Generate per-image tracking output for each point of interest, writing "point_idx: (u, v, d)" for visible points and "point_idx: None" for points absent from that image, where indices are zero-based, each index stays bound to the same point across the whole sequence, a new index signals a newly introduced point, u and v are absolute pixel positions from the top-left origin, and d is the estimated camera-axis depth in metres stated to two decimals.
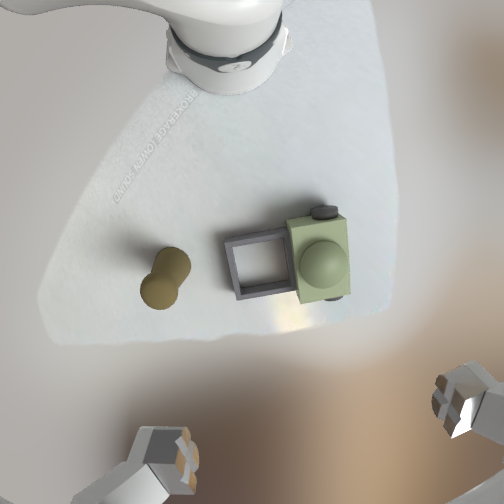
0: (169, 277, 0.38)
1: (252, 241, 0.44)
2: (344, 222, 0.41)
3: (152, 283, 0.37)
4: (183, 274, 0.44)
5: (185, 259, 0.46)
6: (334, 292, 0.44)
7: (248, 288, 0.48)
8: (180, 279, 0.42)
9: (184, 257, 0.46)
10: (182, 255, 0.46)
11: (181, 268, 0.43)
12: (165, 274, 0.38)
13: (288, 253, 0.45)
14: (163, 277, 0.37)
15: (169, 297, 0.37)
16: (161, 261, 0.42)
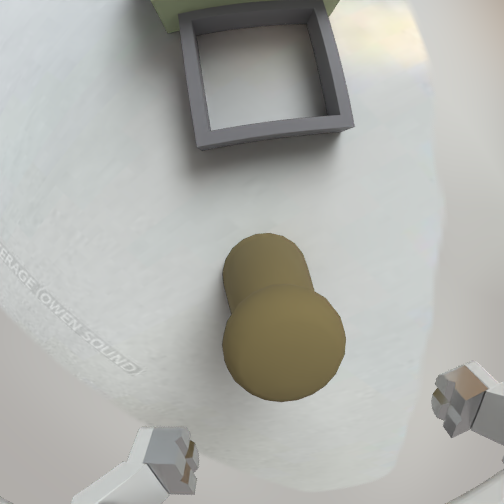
0: (237, 309, 0.12)
1: (195, 81, 0.15)
2: None
3: (243, 371, 0.11)
4: (271, 255, 0.17)
5: (246, 245, 0.19)
6: None
7: (328, 101, 0.18)
8: (277, 267, 0.15)
9: (241, 247, 0.19)
10: (236, 252, 0.20)
11: (255, 259, 0.17)
12: (229, 320, 0.12)
13: (230, 10, 0.14)
14: (230, 332, 0.11)
15: (295, 325, 0.10)
16: None
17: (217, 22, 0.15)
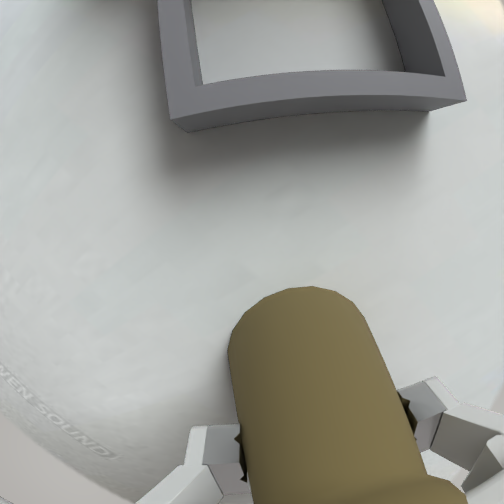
0: None
1: (173, 1, 0.06)
2: None
3: None
4: (329, 356, 0.07)
5: (271, 315, 0.10)
6: None
7: (410, 57, 0.08)
8: (348, 396, 0.06)
9: (262, 318, 0.10)
10: (253, 325, 0.10)
11: (295, 364, 0.07)
12: None
13: None
14: None
15: None
16: None
17: None
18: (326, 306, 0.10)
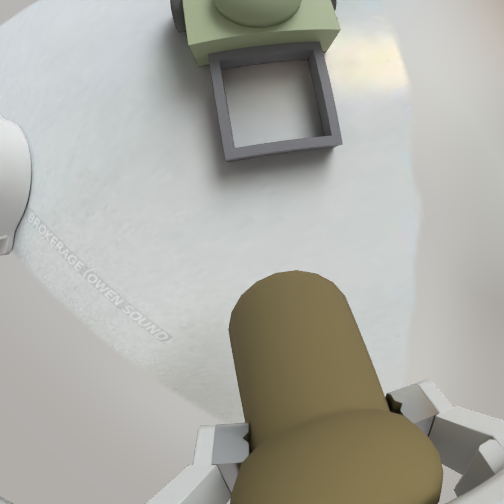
0: (255, 474, 0.05)
1: (223, 110, 0.22)
2: None
3: None
4: (306, 321, 0.10)
5: (261, 295, 0.12)
6: None
7: (323, 123, 0.24)
8: (319, 349, 0.08)
9: (254, 298, 0.12)
10: (247, 304, 0.12)
11: (279, 329, 0.10)
12: (240, 484, 0.05)
13: (248, 52, 0.21)
14: None
15: None
16: None
17: (238, 60, 0.22)
18: (307, 285, 0.12)
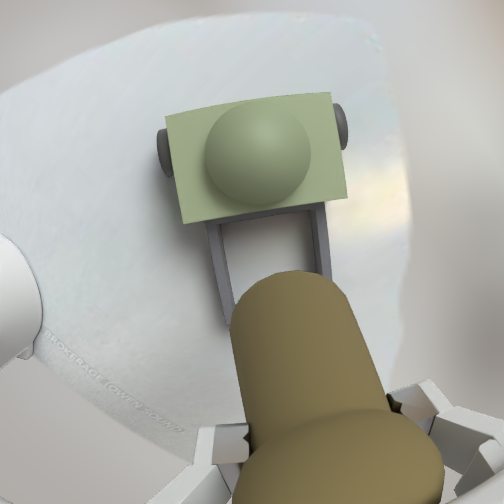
0: (257, 475, 0.05)
1: (223, 281, 0.25)
2: (172, 118, 0.19)
3: None
4: (307, 321, 0.10)
5: (262, 295, 0.12)
6: (325, 126, 0.20)
7: None
8: (321, 349, 0.08)
9: (255, 297, 0.12)
10: (248, 304, 0.12)
11: (280, 329, 0.10)
12: (242, 485, 0.05)
13: (246, 216, 0.24)
14: None
15: None
16: None
17: None
18: (308, 285, 0.12)
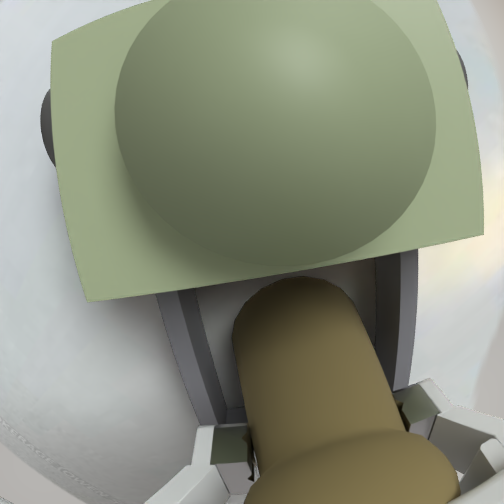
0: (266, 503, 0.04)
1: (200, 394, 0.11)
2: (64, 42, 0.06)
3: None
4: (316, 333, 0.09)
5: (267, 303, 0.12)
6: (440, 60, 0.06)
7: None
8: (332, 364, 0.08)
9: (260, 306, 0.12)
10: (252, 313, 0.12)
11: (287, 341, 0.09)
12: None
13: None
14: None
15: None
16: None
17: None
18: (315, 292, 0.11)
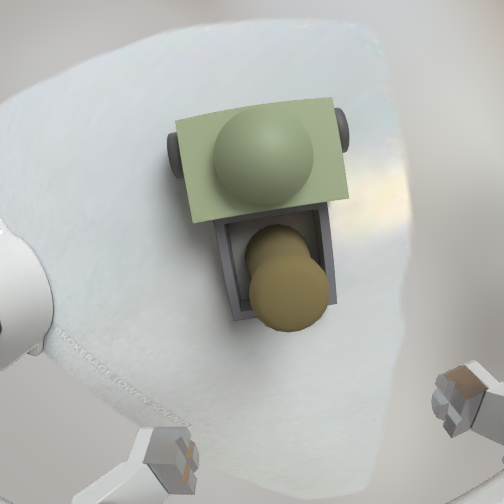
0: (258, 269, 0.19)
1: (230, 278, 0.26)
2: (181, 123, 0.21)
3: (263, 307, 0.18)
4: (280, 238, 0.24)
5: (261, 234, 0.26)
6: (327, 130, 0.21)
7: None
8: (283, 245, 0.22)
9: (258, 235, 0.27)
10: (255, 239, 0.27)
11: (268, 241, 0.24)
12: (253, 276, 0.19)
13: (253, 216, 0.25)
14: (254, 282, 0.18)
15: (294, 274, 0.17)
16: None
17: None
18: (283, 229, 0.26)
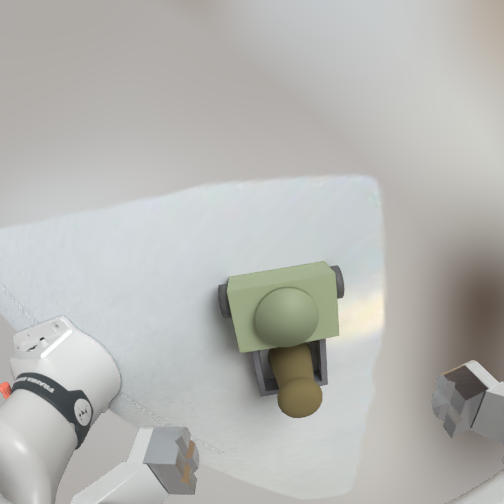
0: (283, 388, 0.31)
1: (260, 374, 0.38)
2: (231, 293, 0.32)
3: (286, 409, 0.30)
4: (293, 356, 0.36)
5: None
6: (329, 296, 0.33)
7: (318, 367, 0.40)
8: (296, 364, 0.34)
9: (278, 347, 0.39)
10: (276, 349, 0.39)
11: (286, 358, 0.36)
12: (280, 391, 0.31)
13: None
14: (281, 397, 0.30)
15: (303, 395, 0.29)
16: None
17: None
18: None
